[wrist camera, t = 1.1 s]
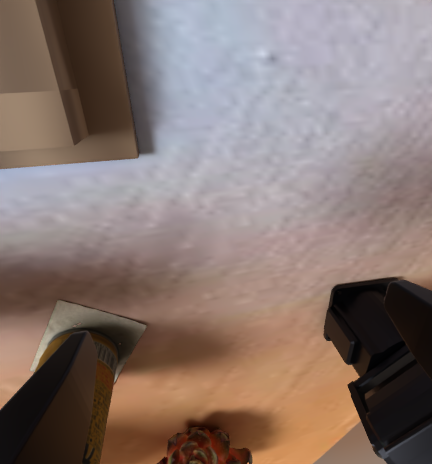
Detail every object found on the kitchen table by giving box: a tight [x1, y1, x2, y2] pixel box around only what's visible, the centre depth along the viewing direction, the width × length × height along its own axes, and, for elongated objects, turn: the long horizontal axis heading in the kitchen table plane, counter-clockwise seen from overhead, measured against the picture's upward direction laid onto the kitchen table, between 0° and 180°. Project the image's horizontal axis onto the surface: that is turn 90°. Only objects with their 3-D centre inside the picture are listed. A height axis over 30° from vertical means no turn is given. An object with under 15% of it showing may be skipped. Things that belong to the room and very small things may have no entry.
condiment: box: [30, 300, 147, 464], centre depth 20 cm, size 7×8×12 cm
